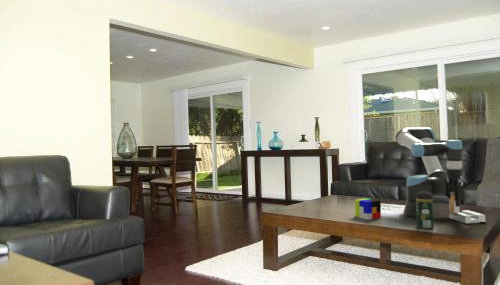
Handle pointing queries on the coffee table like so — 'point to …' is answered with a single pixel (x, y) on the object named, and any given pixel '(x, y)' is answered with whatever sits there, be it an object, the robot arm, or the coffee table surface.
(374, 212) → the puzzle toy
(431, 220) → the coffee jar
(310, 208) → the coffee table surface
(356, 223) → the coffee table surface
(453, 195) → the orange cylindrical piece
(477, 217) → the white ridged tray
